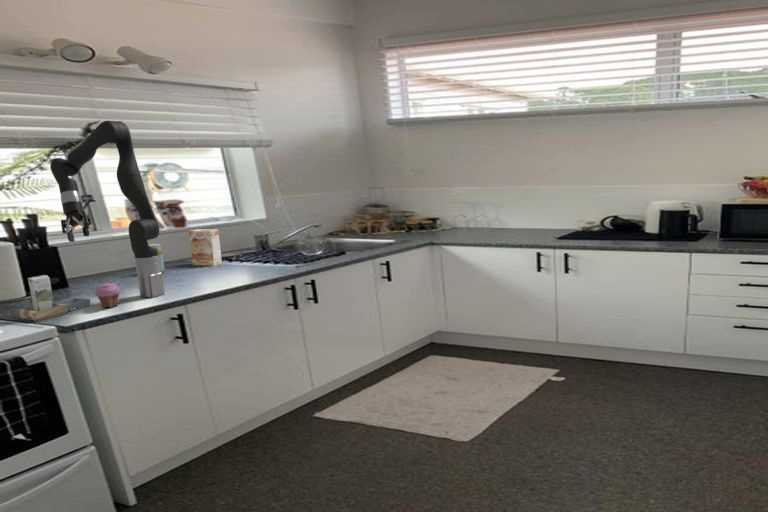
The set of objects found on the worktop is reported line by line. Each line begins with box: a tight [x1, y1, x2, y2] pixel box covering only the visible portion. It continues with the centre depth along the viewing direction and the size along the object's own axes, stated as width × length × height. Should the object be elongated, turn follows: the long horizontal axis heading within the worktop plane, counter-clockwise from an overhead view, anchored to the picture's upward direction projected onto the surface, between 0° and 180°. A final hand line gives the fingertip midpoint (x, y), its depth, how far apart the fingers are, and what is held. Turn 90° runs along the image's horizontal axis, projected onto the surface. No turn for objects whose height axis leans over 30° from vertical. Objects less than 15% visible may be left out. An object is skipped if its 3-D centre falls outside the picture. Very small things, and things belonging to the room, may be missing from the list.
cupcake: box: [95, 282, 121, 308], centre depth 210 cm, size 9×9×10 cm
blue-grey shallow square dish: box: [53, 296, 91, 311], centre depth 213 cm, size 10×10×2 cm
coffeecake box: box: [188, 228, 223, 267], centre depth 291 cm, size 15×7×20 cm, turn 68°
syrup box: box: [27, 274, 54, 312], centre depth 200 cm, size 6×6×14 cm
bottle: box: [148, 243, 166, 274], centre depth 274 cm, size 7×7×15 cm
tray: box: [17, 302, 69, 322], centre depth 201 cm, size 12×12×4 cm
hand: (79, 238), depth 225 cm, fingers open, 8 cm apart
